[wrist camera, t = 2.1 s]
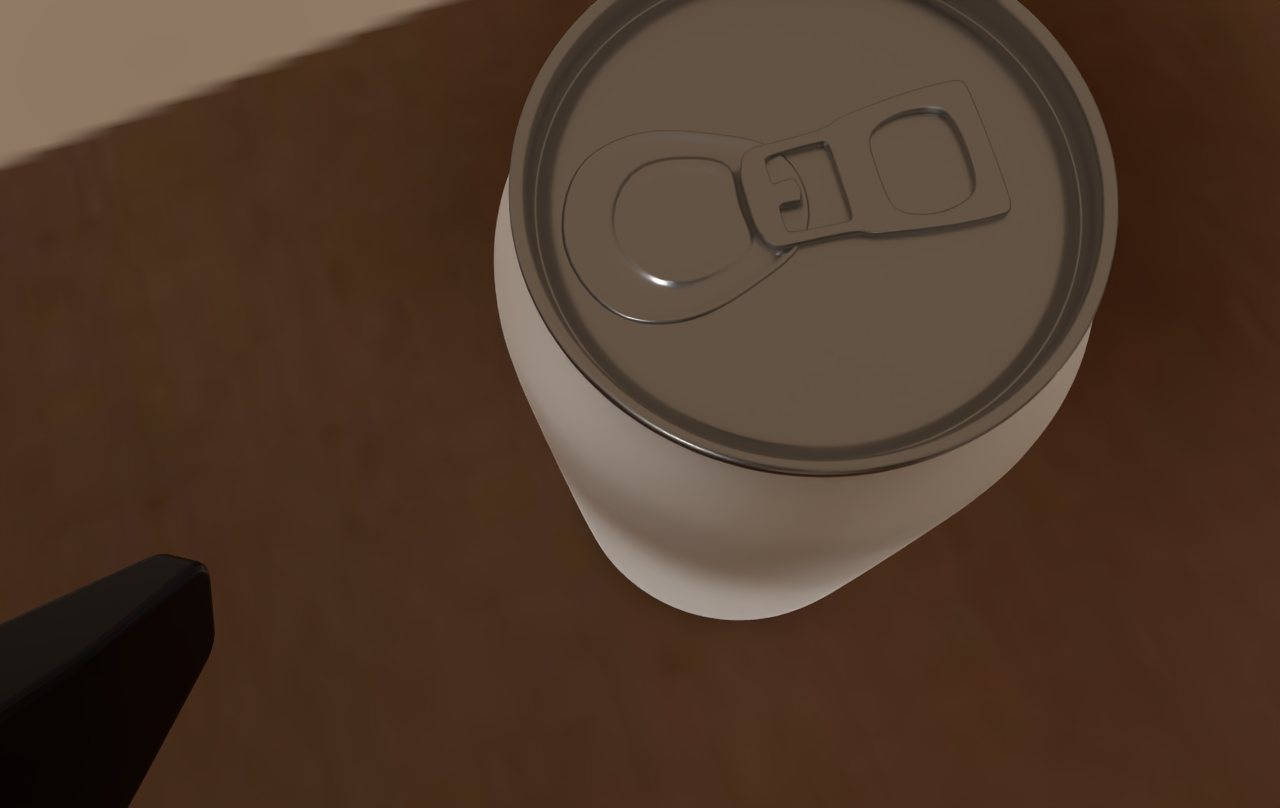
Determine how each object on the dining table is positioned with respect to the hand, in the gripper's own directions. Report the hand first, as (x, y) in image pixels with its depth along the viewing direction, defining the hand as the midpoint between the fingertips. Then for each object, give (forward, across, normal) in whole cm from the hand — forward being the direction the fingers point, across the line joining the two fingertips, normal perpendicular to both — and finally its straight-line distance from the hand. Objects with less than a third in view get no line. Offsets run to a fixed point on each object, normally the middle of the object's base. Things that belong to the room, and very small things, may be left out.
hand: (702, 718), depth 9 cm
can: (+12, 0, +5) cm, 13 cm away
